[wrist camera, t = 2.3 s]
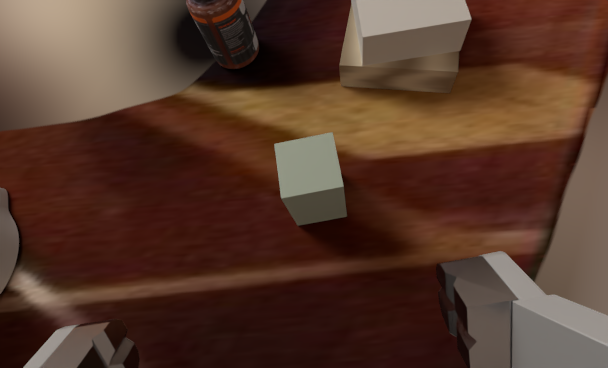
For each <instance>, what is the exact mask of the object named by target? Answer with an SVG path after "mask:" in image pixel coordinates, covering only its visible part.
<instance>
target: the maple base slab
mask: <svg viewBox="0 0 608 368" xmlns="http://www.w3.org/2000/svg"><path fill="white" fill-rule="evenodd" d="M458 63H459V51H456V52H450V53H443V54H437V55H430V56H424V57H417V58H411V59H405V60H398V61H392V62H385V63H379V64H372V65H366V66H362V61H361V55H360V49H359V43H358V37H357V31H356V25H355V20H354V14H353V8H352V4H351V9H350V14H349V19H348V24H347V29H346V34H345V39H344V44H343V50H342V55H341V60H340V65H339V67H340V80H341V86H349V87H364V88H379V89H394V90H409V91H424V92H439V93H450V92H451V89H452V86H453V84H454V81H455V79H456V76H457V73H458Z"/></svg>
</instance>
